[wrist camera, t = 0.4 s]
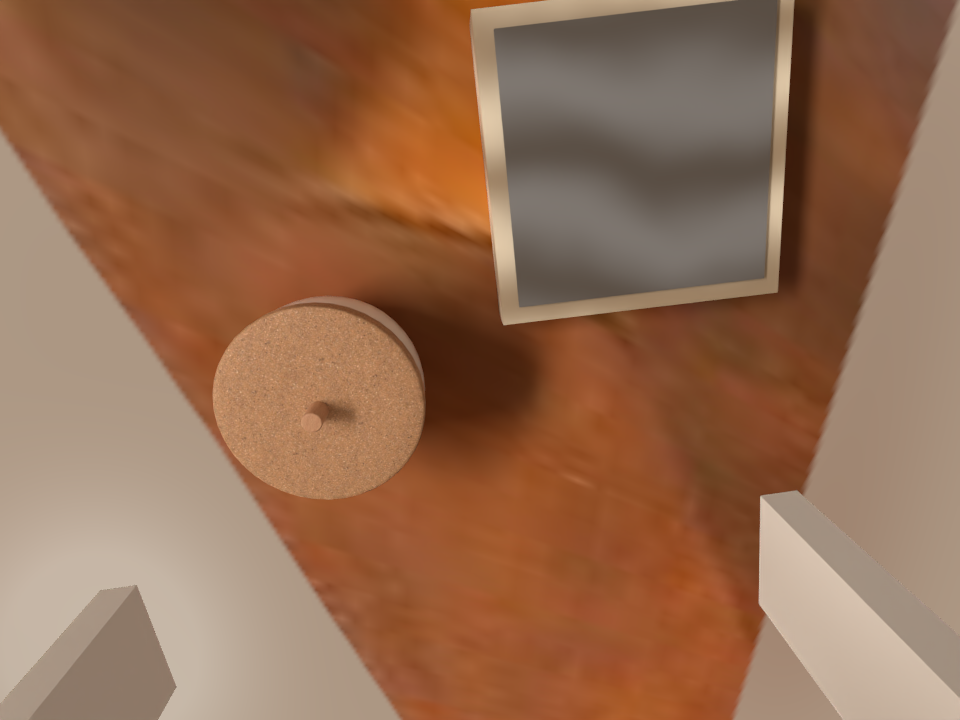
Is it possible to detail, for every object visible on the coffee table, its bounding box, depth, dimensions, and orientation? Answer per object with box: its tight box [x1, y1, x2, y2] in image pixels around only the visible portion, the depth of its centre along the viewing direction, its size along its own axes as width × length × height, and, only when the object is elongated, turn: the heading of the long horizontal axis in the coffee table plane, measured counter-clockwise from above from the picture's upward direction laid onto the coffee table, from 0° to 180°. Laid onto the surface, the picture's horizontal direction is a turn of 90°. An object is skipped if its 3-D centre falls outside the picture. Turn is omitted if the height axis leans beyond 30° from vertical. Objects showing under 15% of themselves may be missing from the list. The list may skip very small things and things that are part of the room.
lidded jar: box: [213, 296, 426, 499], centre depth 31 cm, size 11×11×9 cm
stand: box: [470, 0, 794, 325], centre depth 31 cm, size 16×16×3 cm
